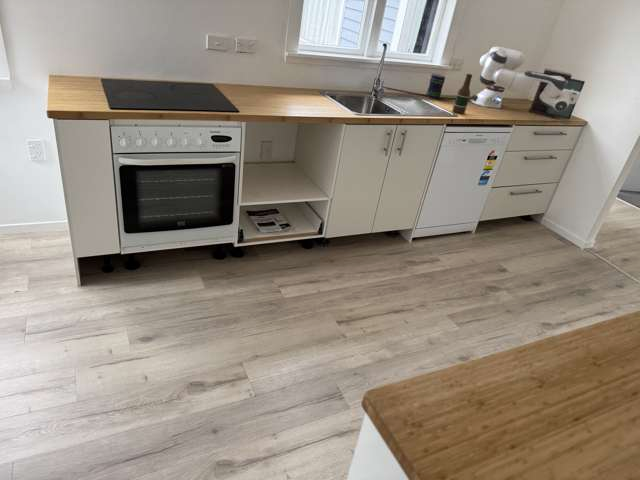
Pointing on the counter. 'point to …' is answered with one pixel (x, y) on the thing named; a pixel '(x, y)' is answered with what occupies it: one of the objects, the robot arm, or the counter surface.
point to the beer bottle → (462, 96)
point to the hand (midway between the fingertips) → (564, 88)
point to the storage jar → (435, 86)
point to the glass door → (576, 86)
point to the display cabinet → (537, 105)
